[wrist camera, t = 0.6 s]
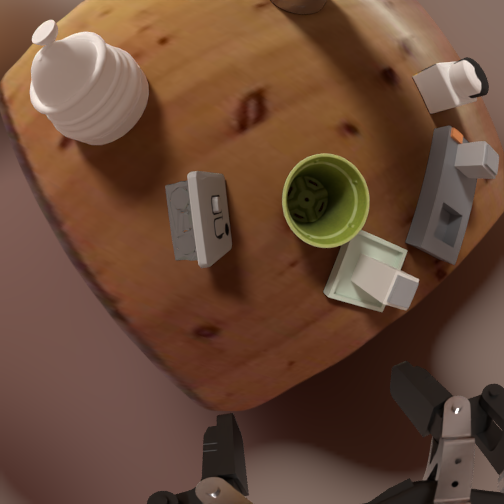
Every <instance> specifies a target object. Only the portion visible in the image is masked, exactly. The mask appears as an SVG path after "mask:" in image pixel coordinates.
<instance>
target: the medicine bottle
mask: <svg viewBox="0 0 504 504" xmlns="http://www.w3.org/2000/svg"><path fill="white" fill-rule="evenodd" d="M413 79H414V81H415V83H416V85H417V87H418V89H419V91H420V93H421V95H422V97H423V99H424V102H425V104H426V106H427V108H428V110H429V113H430V114H433V113H437V112H440V111H444V110H447V109H450V108H454V107H458V106H461V105H464V104H468V103H471V102H475V101H477V98H476V97H480V96H483V95H486V94H487V93H488V88H489V85H488V81H487V78H486V75H485V73H484V71H483V70H482V68H481V67H480V66H479V64H478V63H477V62H476V61H474V60H473V59H471V58H464V59H462V60H459V61H457V62H445V63H436V64H434V65H432V66H430V67H428V68H426V69H424V70H422V71H420V72H419V73H417V74H415V75H413Z"/></svg>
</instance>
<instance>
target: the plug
mask: <svg viewBox="0 0 504 504" xmlns="http://www.w3.org/2000/svg"><path fill="white" fill-rule="evenodd" d="M351 281H352V282H354V283H355V284H356V285H358V286H359V287H361V288H362V289H363V290H365V291H366V292H367V293H369V294H370V295H371V296H373V297H374V298H376V299H377V300H378V301H380V302H381V303H382V304H385V305H389V306H392V307H396V308H399V309H402V310H407V309H408V308H409V306H410V303H411V301H412V299H413V296H414V294H415V292H416V289H417V287H418V284H419V283H418V282H419V279H417V278H415V277H413V276H411V275H409V274H407V273H405V272H403V271H401V270H399V269H397V268H395V267H393V266H391V265H388V264H386V263H384V262H382V261H379V260H377V259H374V258H372V257H369V256H367V255H364V254H362V253H361V254H360V257H359V260H358V262H357V265H356V267H355V270H354V272H353V275H352V277H351Z"/></svg>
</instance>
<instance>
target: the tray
mask: <svg viewBox="0 0 504 504" xmlns="http://www.w3.org/2000/svg"><path fill="white" fill-rule="evenodd" d="M361 253H362V254H364V255H367V256H369V257H372V258H374V259H377V260H379V261H382V262H384V263H386V264H388V265H391V266H393V267H395V268H397V269H399V270H401V267H402V264H403V262H404V259H405V256H406V254H407V250H405V249H403V248H401V247H399V246H396V245H394V244H392V243H390V242H388V241H385V240H383V239H381V238H379V237H376V236H374V235H372V234H369V233H367V232H365V231H362V230H360V231H359V233H358V234H357V235H356V236H355V237H354V238H353V239H352V240H350V241H349V242H347V243H345V244H343V245H341V248H340V251H339V253H338V256H337V259H336V261H335V264H334V266H333V269H332V271H331V274H330V276H329V279H328V281H327V284H326V286H325V289H324V291H323V292H324V293H325V295H326V296H327V297H329V298H333V299H336V300H340V301H343V302H347V303H350V304H354V305H358V306H361V307H365V308H368V309H372V310H375V311H379V312H383V310H384V308H385V306H386V305H385V304H382V303H381V302H380V301H378V300H377V299H376V298H374V297H373V296H371V295H370V294H369V293H367V292H366V291H365V290H363V289H362V288H361V287H359V286H358V285H356V284H355V283H354V282H352V281H351V277H352V275H353V272H354V270H355V267H356V265H357V262H358V260H359V257H360V254H361Z"/></svg>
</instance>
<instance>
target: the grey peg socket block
mask: <svg viewBox="0 0 504 504" xmlns="http://www.w3.org/2000/svg"><path fill="white" fill-rule="evenodd" d="M498 163H499V155H498V154H497V153H496V152H495V151H494V150H493V148H492V147H491V146H490V145H488V144H487V143H486V142H485V141H479V142H471V143H469V142H468V141H467V140H466V139H465V138H464V137H463V135H462V134H461V133H460V132H459V131H458V130H456V129H455V128H452V127H451V126H450V125H449V126H444V127H440V128H436V129H434V134H433V139H432V145H431V150H430V155H429V159H428V164H427V168H426V173H425V177H424V181H423V185H422V189H421V193H420V196H419V200H418V203H417V207H416V210H415V214H414V217H413V220H412V223H411V227H410V230H409V233H408V236H407V239H406V242H405V243H407V244H409V245H412V246H414V247H416V248H418V249H420V250H422V251H424V252H426V253H428V254H430V255H432V256H434V257H436V258H438V259H439V260H442V261H445V262H448V263H450V264H453V265H455V263H456V260H457V257H458V254H459V251H460V248H461V245H462V241H463V238H464V234H465V231H466V227H467V223H468V220H469V216H470V211H471V207H472V203H473V198H474V193H475V188H476V183H477V178H490V179H495V175H497V171H498Z"/></svg>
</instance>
